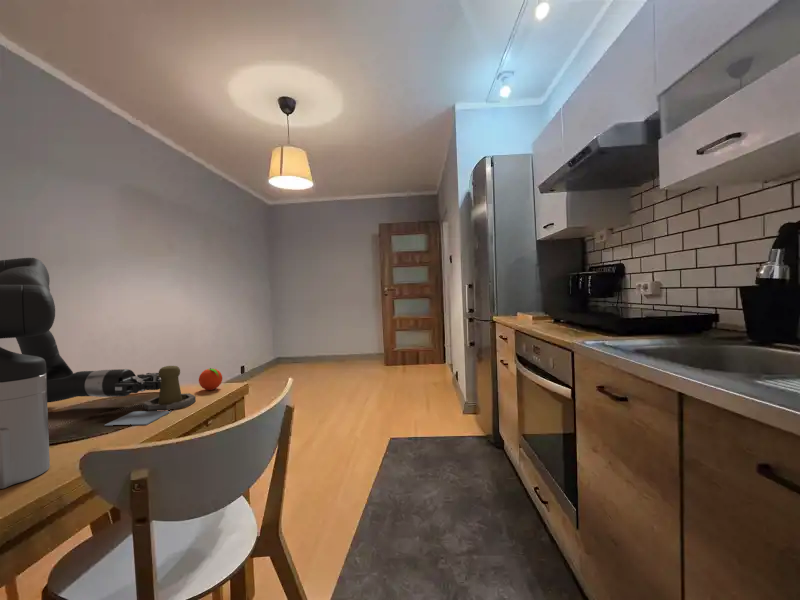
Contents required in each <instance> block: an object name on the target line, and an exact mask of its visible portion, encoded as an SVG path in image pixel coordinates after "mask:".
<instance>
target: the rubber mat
mask: <svg viewBox="0 0 800 600" xmlns="http://www.w3.org/2000/svg"><path fill="white" fill-rule="evenodd" d="M169 412H170V413H171V412H172V410H170V411H162V412H161V411H147V410H146V411H145V410H143V411H132V412H129V413H127V414H125V415H123V416H120V417H118V418H116V419H114V420H112V421H109V422H107V423H106V424H104V427H114V426H113V425H130V424H131V425H132V426H148V425H149V424H150V425H151V424H152V423H153V422H155V421H157V420H159V419H160V417H161V418H162V416H163V417H165V416H166V415H168V414H170V413H169Z"/></svg>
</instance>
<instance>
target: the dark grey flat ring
mask: <svg viewBox="0 0 800 600" xmlns="http://www.w3.org/2000/svg"><path fill="white" fill-rule="evenodd" d="M181 396H182V401H179V402H174V403H169V404H157V403H158V401H159V396H156V397H152V398H150V399H148V400H146V401H144V402H143V408H144V409H145V410H146V409H147V410H148V411H157V410H169V409H174V410H178V409H177V408H179V409H183V408H182V407H184V408H187V407H189V406H191V405H193V404H195V403H196V399H197V398H196V395H194V394H193V393H189V392H188V393H181ZM147 410H146V411H147Z"/></svg>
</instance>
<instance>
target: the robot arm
mask: <svg viewBox="0 0 800 600" xmlns="http://www.w3.org/2000/svg"><path fill="white" fill-rule="evenodd" d="M55 305H56V304H55V301H54V297H53V295H52V293H51V289H50V273H49V271H48V269H47V267H46V265H45V264H44V263H43V262H42V261H41V260H40V259H39V258H35V257H21V258H19V257H18V258H11V259H10V258H9V259H2V260H0V339H1V340H2V339H12V338H13V339H14V338H15V339H16V341H17V344H18V347H19V350H20V352H21V353H18V352H14V351H11V350H8V349H5V348H3V347H2V346H0V489H1V490H3V489H6V488H8V487H10V486H13V485H16V484H19V483H22V482H26V481H29V480H31V479H34V478H36V477H38V476H40V475H42V474H44V473H45V472H47V471H48V470H49V469H50V467H51V463H50V440H49V439H50V437H49V413H48V411H49V410H48V404H49V403H53V402H54V403H55V402H59V401H65V400H68V399H70V400H71V399H72V398H76V397H77V398H78V397H95V398H110V397H111V398H113V397H115V398H117V397H128V396H129V395H130V394H137V393H139V392H144V391H158V390H159V391H160V388H161V378H160V377H159V372H147V373H145V374H144V373H140V374H137V375H136V374H135V372H134V371H133V370H131V369H127V368H125V369H100V370H83V371H77V372H73V370H72V369H71V368H70V366H69V365H68V364H67V362H66V361H65V360H64V359H63V358H62V356H61V354H60V352H59V348H58V345H57V341H56V339H55V336H54V335H53V333H52V332H51V330H50V329H51V328H52V327H53V324H54V321H55V318H56V306H55ZM178 380H179V381H180V379H179V378H178Z"/></svg>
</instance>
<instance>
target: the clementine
mask: <svg viewBox="0 0 800 600" xmlns="http://www.w3.org/2000/svg"><path fill="white" fill-rule="evenodd" d="M222 382H223V374H222V373H221V371H220V370H219V369H217V368H211V367H209V368H207V369H204V370H203V371H202V372H201V373H200V375H199V376H198V384H199V386H200V387H201V388H202V389H203V390H207V391H212V390H215V389H217V388H219V387H220V385H221V384H222Z"/></svg>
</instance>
